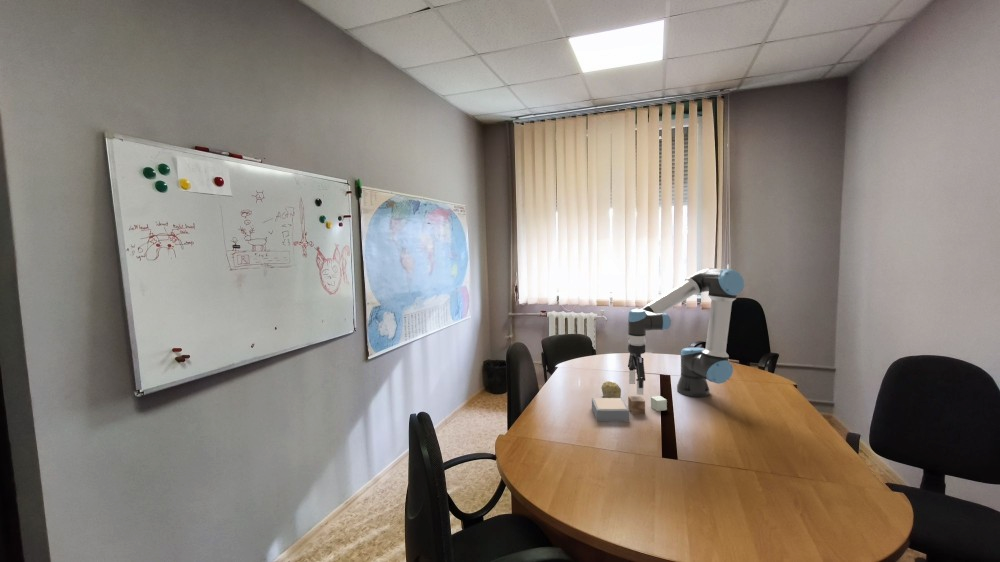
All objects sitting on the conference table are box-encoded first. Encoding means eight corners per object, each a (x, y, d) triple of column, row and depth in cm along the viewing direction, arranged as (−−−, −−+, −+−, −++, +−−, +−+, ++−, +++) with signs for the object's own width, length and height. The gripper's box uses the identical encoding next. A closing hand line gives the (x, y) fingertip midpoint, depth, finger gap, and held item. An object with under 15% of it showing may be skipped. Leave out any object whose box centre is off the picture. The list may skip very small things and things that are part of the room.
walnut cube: (641, 408, 183) (641, 396, 183) (645, 413, 177) (645, 401, 177) (628, 408, 184) (628, 396, 183) (631, 413, 178) (631, 401, 177)
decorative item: (620, 403, 199) (617, 383, 204) (624, 398, 191) (621, 378, 196) (601, 403, 200) (599, 384, 205) (604, 398, 191) (601, 378, 197)
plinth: (621, 408, 184) (621, 397, 183) (629, 421, 170) (629, 409, 169) (591, 408, 185) (591, 397, 184) (596, 421, 171) (596, 409, 171)
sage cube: (660, 405, 185) (660, 395, 185) (666, 410, 180) (666, 399, 180) (650, 407, 184) (650, 396, 184) (656, 411, 180) (657, 400, 179)
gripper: (621, 337, 190) (621, 379, 192) (635, 350, 165) (634, 399, 167) (637, 337, 190) (636, 379, 191) (653, 351, 165) (652, 399, 167)
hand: (635, 388), depth 179 cm, fingers open, 13 cm apart
